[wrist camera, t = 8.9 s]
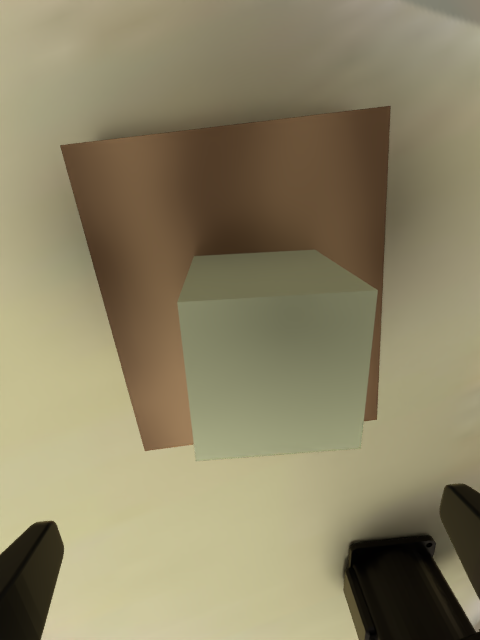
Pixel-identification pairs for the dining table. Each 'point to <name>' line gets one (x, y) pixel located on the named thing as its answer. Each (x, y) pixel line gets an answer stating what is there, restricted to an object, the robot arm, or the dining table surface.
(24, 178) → the dining table surface
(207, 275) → the sage cube
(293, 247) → the walnut block
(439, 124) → the dining table surface
